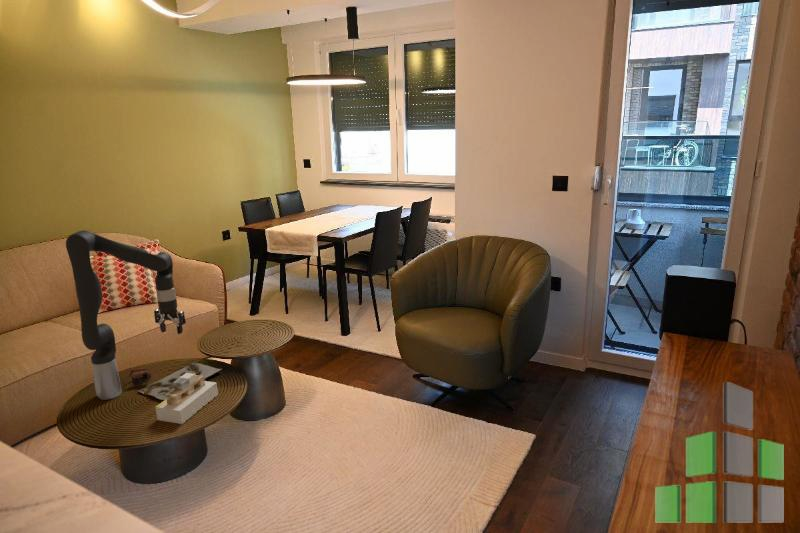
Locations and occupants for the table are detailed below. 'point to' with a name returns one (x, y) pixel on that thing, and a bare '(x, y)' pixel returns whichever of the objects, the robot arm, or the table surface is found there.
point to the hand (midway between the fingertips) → (172, 332)
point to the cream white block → (189, 377)
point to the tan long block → (185, 392)
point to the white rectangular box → (187, 405)
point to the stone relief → (166, 381)
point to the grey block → (181, 384)
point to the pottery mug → (139, 377)
